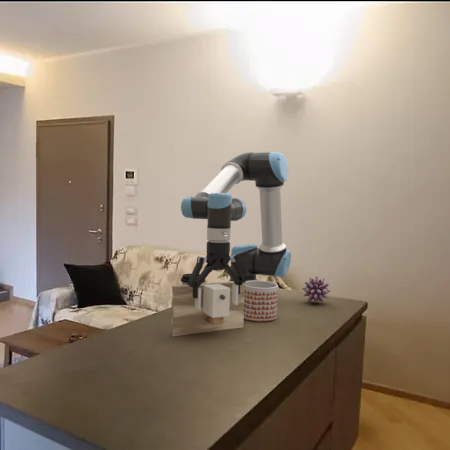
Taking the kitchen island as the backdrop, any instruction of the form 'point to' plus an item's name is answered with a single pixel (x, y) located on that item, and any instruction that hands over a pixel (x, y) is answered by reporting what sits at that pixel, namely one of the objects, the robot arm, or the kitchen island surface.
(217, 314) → the cabinet
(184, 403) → the kitchen island surface
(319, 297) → the purple spiky ball
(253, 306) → the planter
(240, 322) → the wooden board
